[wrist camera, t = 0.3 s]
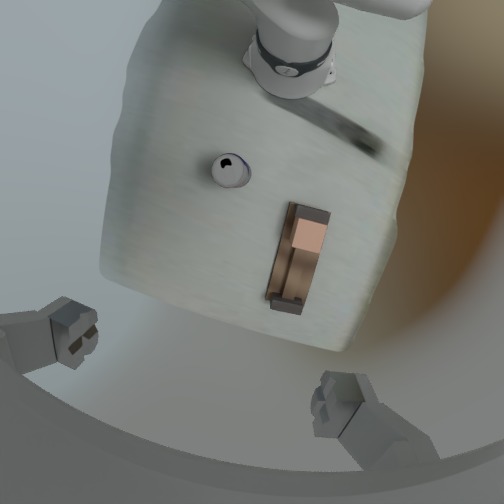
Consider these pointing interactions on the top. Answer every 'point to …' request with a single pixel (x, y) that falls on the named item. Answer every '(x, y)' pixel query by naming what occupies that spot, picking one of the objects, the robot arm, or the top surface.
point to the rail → (294, 264)
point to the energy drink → (231, 171)
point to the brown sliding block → (307, 234)
